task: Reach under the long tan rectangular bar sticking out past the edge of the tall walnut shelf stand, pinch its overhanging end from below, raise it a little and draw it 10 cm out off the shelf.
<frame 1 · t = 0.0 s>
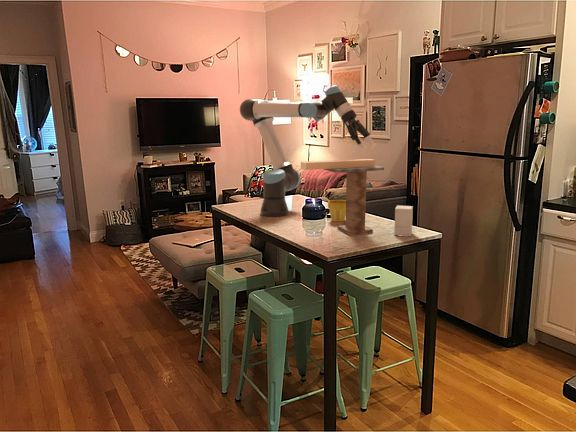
hand: (368, 148, 243), 36 cm above the table, tool tilted 35°, fingers open, 13 cm apart
tan rectangular bar: (338, 167, 215), point 30 cm above the table, touching shelf stand
plant pot: (337, 220, 246), on the table
shelf stand: (354, 231, 224), on the table
supplement box: (403, 234, 218), on the table
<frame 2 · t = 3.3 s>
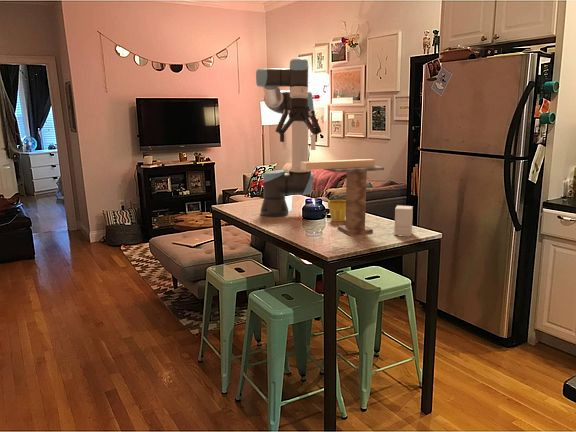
hand: (298, 150, 202), 39 cm above the table, tool pointing down, fingers open, 13 cm apart
nothing on the table moved.
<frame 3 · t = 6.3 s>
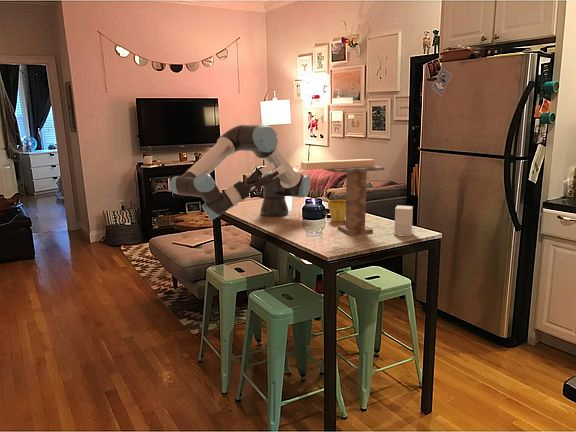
hand: (278, 166, 205), 32 cm above the table, tool pointing upward, fingers open, 13 cm apart
nothing on the table moved.
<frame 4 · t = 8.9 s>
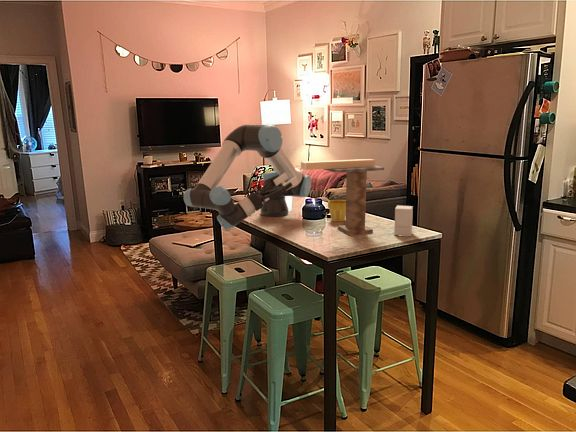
hand: (292, 177, 208), 27 cm above the table, tool pointing upward, fingers open, 13 cm apart
nothing on the table moved.
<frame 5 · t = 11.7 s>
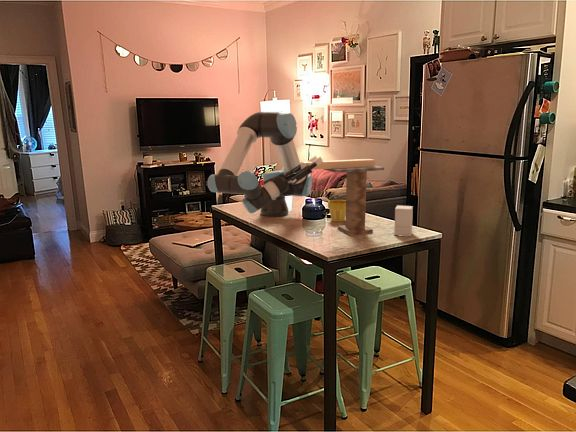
hand: (319, 159, 211), 34 cm above the table, tool pointing upward, fingers closed on tan rectangular bar, 4 cm apart
tan rectangular bar: (338, 167, 215), point 30 cm above the table, touching gripper, shelf stand
everything else where it was.
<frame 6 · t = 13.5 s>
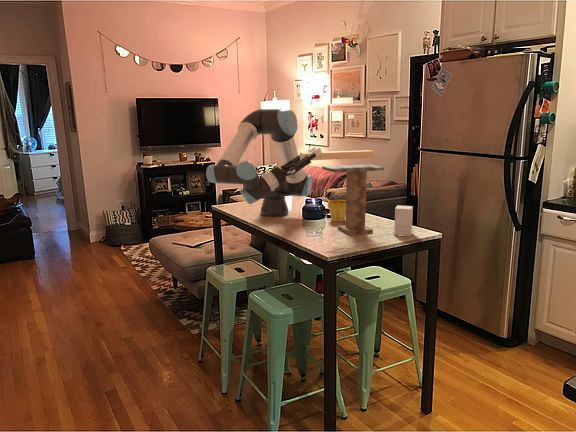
hand: (318, 149, 210), 38 cm above the table, tool pointing upward, fingers closed on tan rectangular bar, 4 cm apart
tan rectangular bar: (337, 158, 214), point 34 cm above the table, touching gripper
everything else where it was.
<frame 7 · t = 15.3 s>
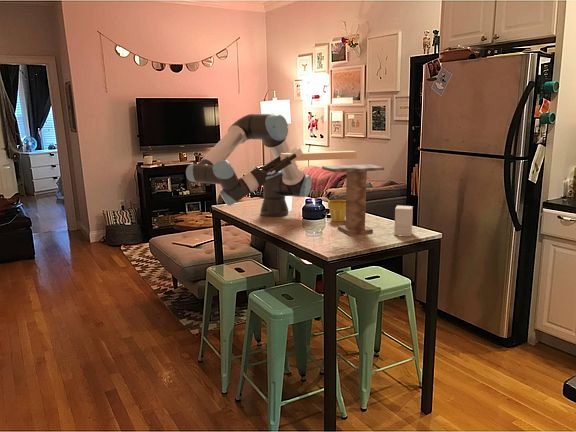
hand: (299, 150, 207), 38 cm above the table, tool pointing upward, fingers closed on tan rectangular bar, 4 cm apart
tan rectangular bar: (319, 159, 211), point 34 cm above the table, touching gripper
everything else where it was.
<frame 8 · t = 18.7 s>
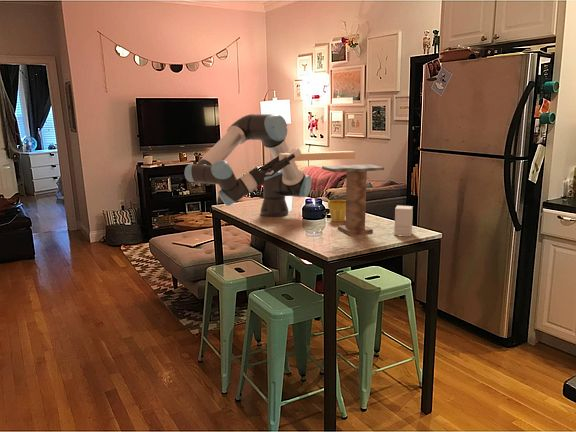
hand: (297, 150, 207), 38 cm above the table, tool pointing upward, fingers closed on tan rectangular bar, 4 cm apart
tan rectangular bar: (317, 159, 211), point 34 cm above the table, touching gripper
everything else where it was.
at the end: tan rectangular bar moved 10.7 cm from its start; the gripper is holding tan rectangular bar; tan rectangular bar point 34.0 cm above the table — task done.
